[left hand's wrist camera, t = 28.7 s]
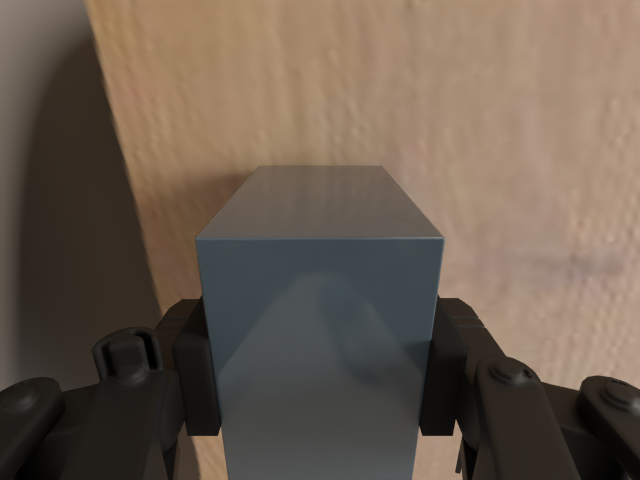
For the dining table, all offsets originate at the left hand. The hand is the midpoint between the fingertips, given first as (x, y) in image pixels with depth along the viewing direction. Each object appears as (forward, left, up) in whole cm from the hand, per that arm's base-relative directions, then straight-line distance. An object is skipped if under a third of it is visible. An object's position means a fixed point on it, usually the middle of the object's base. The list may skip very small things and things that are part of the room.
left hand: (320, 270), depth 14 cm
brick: (0, 0, -2) cm, 2 cm away
